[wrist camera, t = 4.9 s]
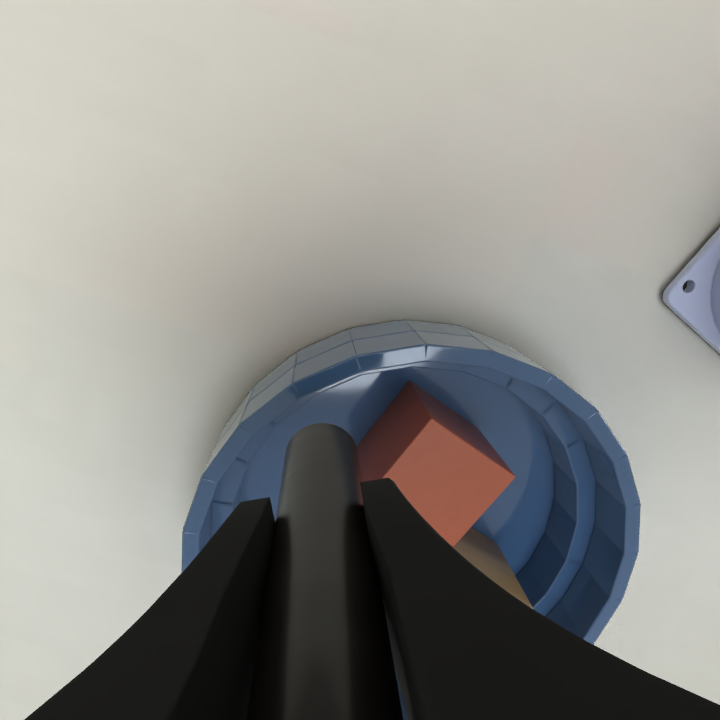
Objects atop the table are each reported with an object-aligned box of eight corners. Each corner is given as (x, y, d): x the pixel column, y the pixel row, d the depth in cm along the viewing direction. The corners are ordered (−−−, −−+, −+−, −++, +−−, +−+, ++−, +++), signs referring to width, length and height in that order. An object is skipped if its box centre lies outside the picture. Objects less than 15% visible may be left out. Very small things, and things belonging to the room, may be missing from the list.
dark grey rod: (313, 408, 12) (302, 830, 4) (372, 447, 13) (480, 901, 4) (270, 463, 13) (170, 964, 4) (329, 499, 13) (348, 1015, 5)
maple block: (434, 503, 21) (459, 564, 17) (497, 543, 22) (535, 610, 18) (381, 564, 22) (394, 636, 18) (445, 600, 23) (470, 676, 19)
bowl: (363, 232, 18) (377, 235, 14) (649, 456, 22) (729, 512, 18) (137, 545, 21) (90, 628, 17) (424, 691, 25) (446, 788, 21)
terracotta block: (409, 379, 19) (431, 417, 16) (479, 429, 20) (516, 476, 16) (352, 450, 20) (360, 504, 16) (423, 495, 21) (446, 555, 17)
